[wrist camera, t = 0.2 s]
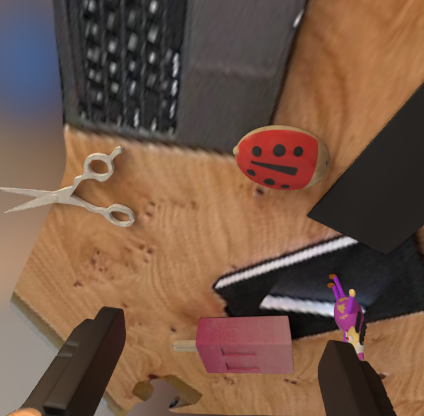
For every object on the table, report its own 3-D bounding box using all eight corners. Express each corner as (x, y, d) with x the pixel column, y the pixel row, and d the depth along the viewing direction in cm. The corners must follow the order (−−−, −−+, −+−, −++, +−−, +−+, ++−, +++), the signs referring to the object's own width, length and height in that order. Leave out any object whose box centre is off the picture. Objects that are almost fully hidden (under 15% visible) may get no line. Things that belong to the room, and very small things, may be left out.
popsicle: (163, 345, 43) (291, 343, 40) (170, 318, 47) (287, 314, 43) (178, 373, 48) (294, 374, 44) (183, 347, 52) (290, 346, 48)
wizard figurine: (325, 250, 35) (356, 338, 25) (351, 248, 35) (393, 338, 25) (322, 304, 41) (346, 392, 32) (344, 304, 41) (376, 393, 31)
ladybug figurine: (315, 188, 31) (323, 206, 28) (228, 176, 31) (226, 192, 28) (337, 130, 27) (349, 143, 24) (238, 116, 27) (237, 127, 24)
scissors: (147, 225, 35) (12, 233, 38) (148, 222, 36) (16, 230, 39) (120, 147, 29) (-37, 164, 32) (122, 144, 30) (-31, 162, 33)
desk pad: (461, 39, 22) (464, 39, 21) (563, 109, 24) (566, 110, 24) (306, 215, 33) (307, 216, 32) (385, 253, 35) (386, 255, 34)
